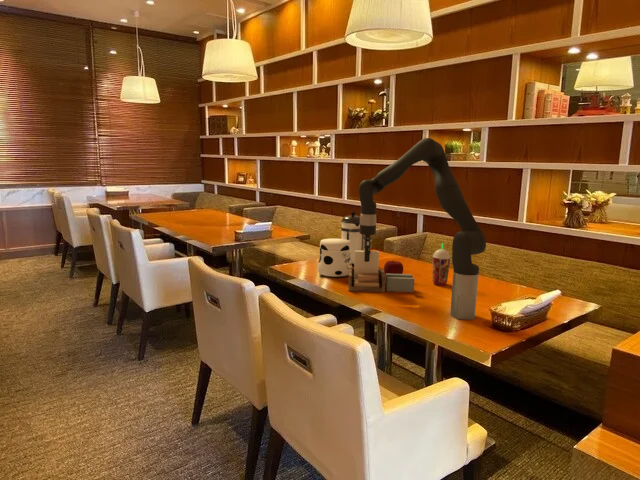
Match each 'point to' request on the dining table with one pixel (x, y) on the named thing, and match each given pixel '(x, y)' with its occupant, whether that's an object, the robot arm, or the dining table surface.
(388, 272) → the apple
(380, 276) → the box
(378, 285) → the offcut large
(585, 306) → the dining table surface
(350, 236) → the coffee press
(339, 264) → the milk container
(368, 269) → the cream rectangular board
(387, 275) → the holder
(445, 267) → the smoothie
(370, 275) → the offcut small
